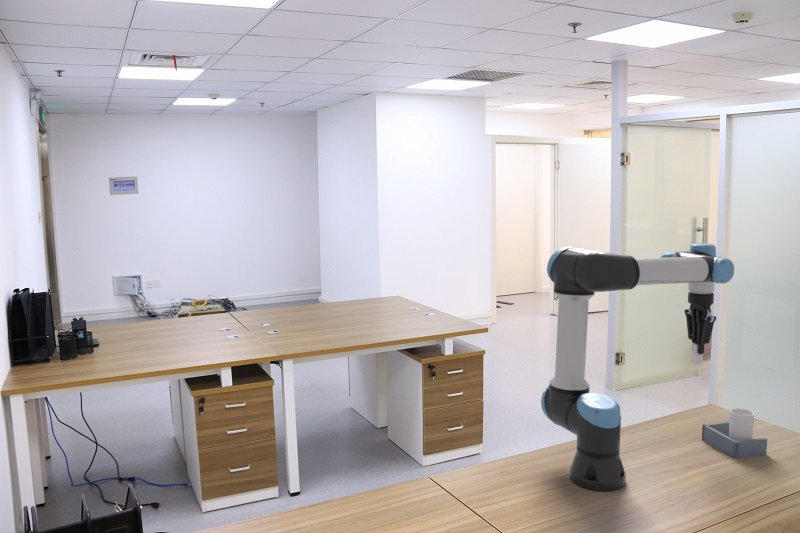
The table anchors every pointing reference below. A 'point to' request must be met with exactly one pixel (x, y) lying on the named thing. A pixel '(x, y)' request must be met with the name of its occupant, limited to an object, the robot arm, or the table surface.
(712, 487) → the table surface
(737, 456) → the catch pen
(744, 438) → the mug
